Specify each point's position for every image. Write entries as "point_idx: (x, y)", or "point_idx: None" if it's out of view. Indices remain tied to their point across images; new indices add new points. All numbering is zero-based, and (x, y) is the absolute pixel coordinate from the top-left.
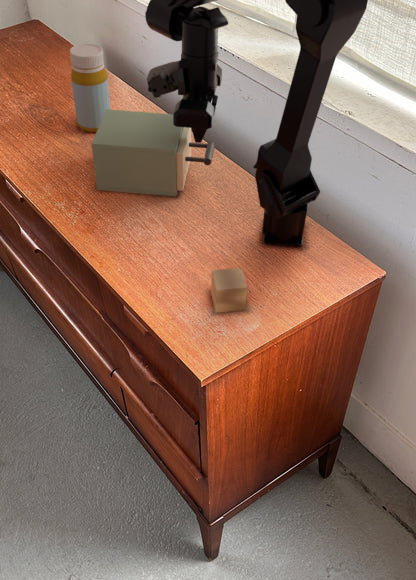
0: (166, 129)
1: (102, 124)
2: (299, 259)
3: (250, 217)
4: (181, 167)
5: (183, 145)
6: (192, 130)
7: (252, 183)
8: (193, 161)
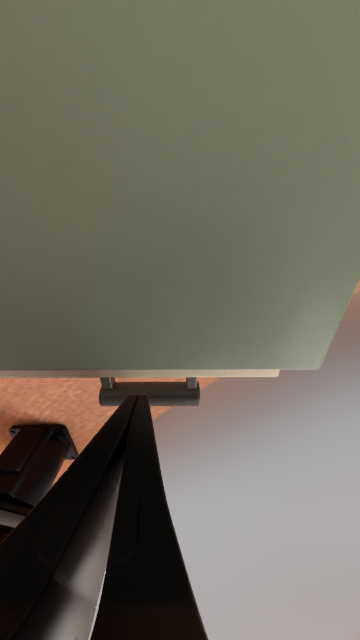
0: (126, 292)
1: None
2: None
3: (68, 408)
4: None
5: (55, 373)
6: (85, 449)
7: (165, 406)
8: None
